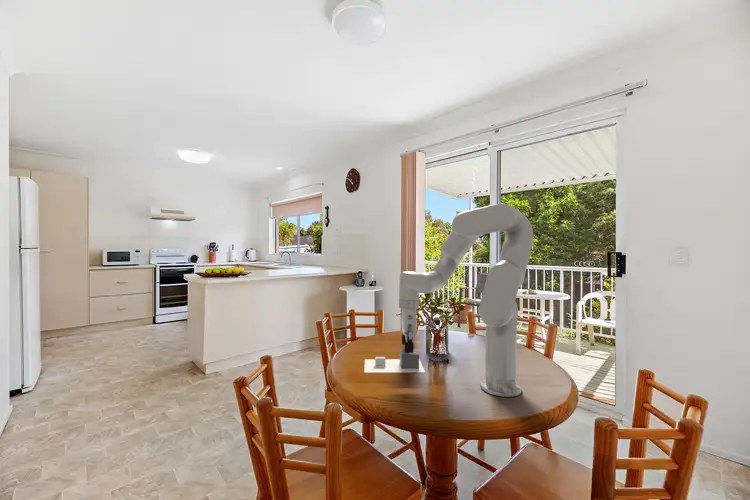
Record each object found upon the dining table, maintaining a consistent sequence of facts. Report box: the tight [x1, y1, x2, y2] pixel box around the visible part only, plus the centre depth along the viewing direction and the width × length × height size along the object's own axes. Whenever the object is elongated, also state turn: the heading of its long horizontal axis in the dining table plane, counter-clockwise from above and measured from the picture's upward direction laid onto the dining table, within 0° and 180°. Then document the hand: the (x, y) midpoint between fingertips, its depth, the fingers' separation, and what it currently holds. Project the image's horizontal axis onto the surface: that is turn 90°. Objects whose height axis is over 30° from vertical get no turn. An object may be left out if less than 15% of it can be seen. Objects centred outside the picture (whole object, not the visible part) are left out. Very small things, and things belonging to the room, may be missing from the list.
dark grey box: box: [399, 348, 420, 369], centre depth 128 cm, size 7×7×5 cm
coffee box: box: [425, 316, 449, 356], centre depth 144 cm, size 9×6×16 cm
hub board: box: [363, 356, 426, 374], centre depth 128 cm, size 14×22×4 cm, turn 91°
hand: (407, 348), depth 128 cm, fingers open, 9 cm apart
